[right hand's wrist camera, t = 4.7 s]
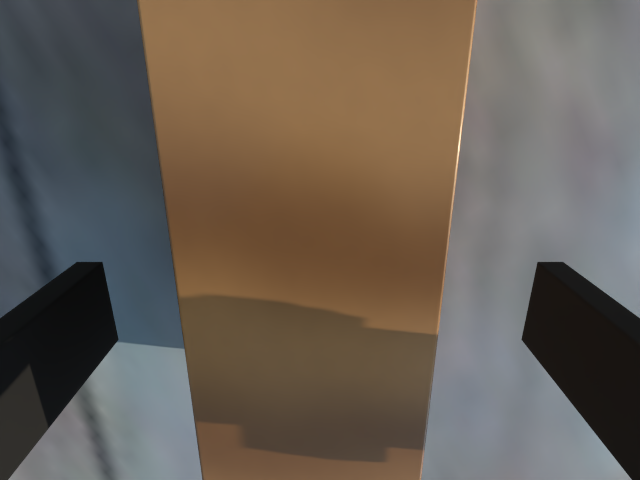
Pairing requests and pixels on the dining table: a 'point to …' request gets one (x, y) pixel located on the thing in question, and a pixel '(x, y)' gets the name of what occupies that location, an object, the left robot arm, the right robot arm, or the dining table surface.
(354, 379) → the beam
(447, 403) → the dining table surface
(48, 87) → the dining table surface
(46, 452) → the dining table surface
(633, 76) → the dining table surface
